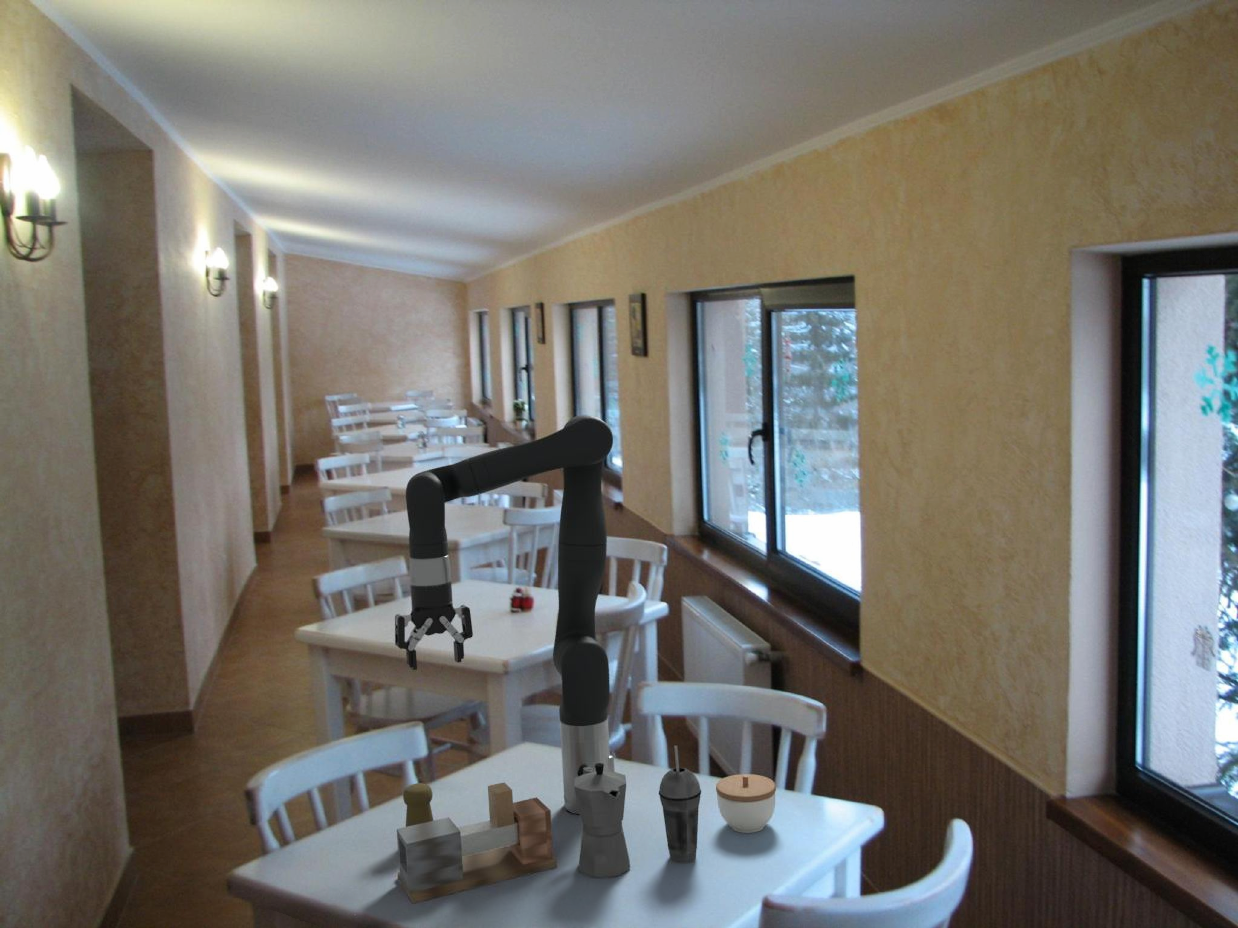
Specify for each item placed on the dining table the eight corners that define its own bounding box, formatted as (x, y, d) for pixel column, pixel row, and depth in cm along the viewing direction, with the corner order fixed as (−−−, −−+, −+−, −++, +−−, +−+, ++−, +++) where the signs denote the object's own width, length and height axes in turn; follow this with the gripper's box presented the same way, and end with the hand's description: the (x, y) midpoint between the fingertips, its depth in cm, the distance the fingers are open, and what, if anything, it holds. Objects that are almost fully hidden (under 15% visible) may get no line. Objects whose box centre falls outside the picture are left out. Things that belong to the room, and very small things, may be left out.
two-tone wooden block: (533, 829, 194) (529, 776, 193) (541, 838, 190) (538, 784, 189) (440, 851, 187) (436, 796, 186) (447, 860, 183) (443, 804, 182)
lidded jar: (750, 808, 208) (748, 760, 208) (789, 827, 200) (787, 776, 199) (705, 824, 203) (703, 774, 202) (744, 844, 194) (742, 792, 193)
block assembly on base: (536, 844, 198) (533, 793, 197) (557, 866, 189) (554, 813, 188) (397, 878, 187) (394, 825, 186) (413, 903, 178) (409, 847, 177)
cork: (430, 852, 197) (426, 792, 196) (399, 851, 198) (394, 791, 197) (443, 837, 202) (439, 779, 201) (411, 836, 204) (407, 778, 203)
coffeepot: (646, 875, 184) (641, 770, 182) (594, 888, 180) (588, 781, 178) (608, 840, 198) (603, 742, 196) (559, 852, 194) (553, 752, 192)
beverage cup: (708, 849, 192) (704, 737, 190) (698, 868, 185) (692, 752, 183) (668, 845, 194) (663, 735, 193) (656, 864, 188) (650, 749, 186)
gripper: (461, 572, 212) (466, 655, 214) (387, 581, 206) (393, 666, 207) (473, 578, 205) (478, 663, 207) (398, 588, 199) (403, 676, 201)
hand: (436, 665), depth 207 cm, fingers open, 8 cm apart
